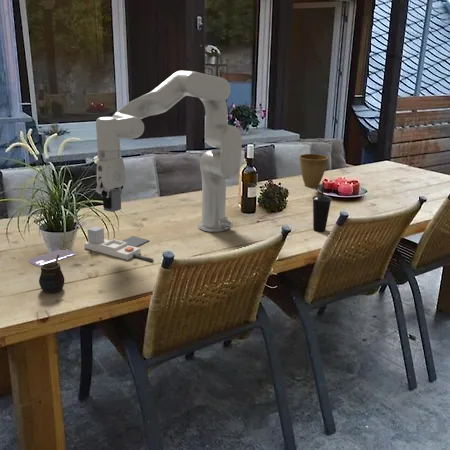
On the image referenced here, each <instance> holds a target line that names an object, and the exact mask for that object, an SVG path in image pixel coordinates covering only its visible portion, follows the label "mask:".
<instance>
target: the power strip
mask: <svg viewBox="0 0 450 450" xmlns="http://www.w3.org/2000/svg"><path fill="white" fill-rule="evenodd" d="M104 231H105V229H104V227H100V226H97V225H94V226H92V227H90V228H87V241H85V242H84V249H87V250H90V251H94V252H97V253H99V254H100V253H101V254H104V255H108V256H112V257H116V258H119V259H122V260H126V261H128V260H130V259H132V258H137V259H140V260H144V261H148V262H151V263H152V262H154V261H155V260H154V259H153V258H150V257H148V256H143V255H140V254H141V248H140V247H133V246H129V245H127V242H123V240H119V239H114V238H112V239H106V238H105V232H104Z"/></svg>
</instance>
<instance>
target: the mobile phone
mask: <svg viewBox="0 0 450 450" xmlns="http://www.w3.org/2000/svg"><path fill="white" fill-rule="evenodd" d="M65 249H66V250H61V249H58V250H55V251H51V252H48V253H43V254H42V255H38V256H34V257H31V258H29V259H28V260H27V262H28V263H30V264H31V265H34V266H36V267H41V265H43V264H45V263H49V262H55V261H56V258H57V255H59V258H58V260H57V262H58V261H59V262H60V261H61V260H64V259H68V258H70V257H74V256H76V255H77V253H76V252H74V251H72V250H70V249H67V248H65Z"/></svg>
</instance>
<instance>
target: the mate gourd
mask: <svg viewBox="0 0 450 450" xmlns="http://www.w3.org/2000/svg"><path fill="white" fill-rule="evenodd" d="M58 258H59V255H57V258H56V261H55V262H49V263H45V264H43V265H41V266H40V275H39V279H38V284H39V286H40V289H41V290H42V291H43V292H45V293H47V294H53V293H56V292H57V293H58V292H60V291H61V290H62V288H64V285H65V276H64V274H63V271H62V268H61V264H60V263H58V261H57V260H58Z"/></svg>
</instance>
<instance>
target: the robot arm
mask: <svg viewBox="0 0 450 450" xmlns="http://www.w3.org/2000/svg"><path fill="white" fill-rule="evenodd" d="M231 90H232V89H231V85H230V82H229V81H228V80H227V79H225V78H224V77H222V76H215V75H210V74H206V73H204V72H203V73H202V72H198V71H195V70H194V71H193V70H177V71H175V72H174V73H172V74H171V75H170V76H169V77H167V78H166V79H165V80H164V81H162V82H161V83H160V84H158V86H156V87H155V88H153V89H152V90H151V91H149V92H148V93H145V94H143V95H141V96H139V97H137V98H135V99H133V100H131V101H129V102H127V103H126V104H125V105H124V106H122V107H121V108H119V109H118V110H117V111H116V112H115V113H113V115H112V116H100V117H98V118H97V119H96V120H95V129H96V144H97V145H96V146H97V147H96V148H97V154H96V156H97V161H96V184H97V185H96V188H95V190H94V191H95V193H98V194H99V195H100V196H101V197H102V203H103V205H102V206H103V209H104V208H107V209H111V198H110V190H111V189H119V190H120V195H121V194H122V193H123V192H122V191H123V189H124V187H125V185H126V184H127V179H126V178H127V177H126V169H125V168H126V167H125V163H124V158H123V157H122V155H121V154H122V153H121V139H130V140H131V139H132V140H133V139H137V138H139V137H141V136H142V135H143V134H144V131H145V124H144V122H143V120H142V119H144V118H147V117H151V116H157V115H160V114H163V113H166V112H168V111H169V110H170V109H171V108H172V107H174V106H175V105H176V104H177V103H178V102H180V100H182V99H183V98H185V97H187V96H188V97H193V98H198V99H199V100H200V101H201V102H202V105H203V106H204V112H205V119H204V121H205V123H204V124H205V125H204V141H205V142H206V144H207V145H208V146H210V147H212V148H216V149H218V150H215V149H210V150H207V151H205V152H203V153H202V155H201V157H200V161H199V167H200V173H201V185H202V187H201V190H202V193H201V196H202V197H201V206H202V207H201V221H200V222H198V224H197V226H198V229H200V230H201V231H204V232H208V233H209V232H211V233H216V232H217V233H218V232H224V231H227V230H228V229H229V228H230V229H231V228H233V225H234V222H233V221H230V220H229V218H228V216H226V206H227V205H226V203H227V196H226V195H227V194H226V193H227V183H226V180H232V179H235V178H236V177H237V176H238V174H239V171H240V168H241V164H242V163H241V161H242V147H243V146H242V145H243V139H242V134H241V132H240V130H239V128H238V127H236V126H234V125H232V124H231V125H230V124H228V123H229V122H228V121H229V119H228V114H229V113H228V104H227V102H226V100H227V99H228V98H229V96H230V94H231ZM219 150H220V151H219ZM105 190H107V191H106V192H105ZM121 196H122V195H121Z"/></svg>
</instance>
